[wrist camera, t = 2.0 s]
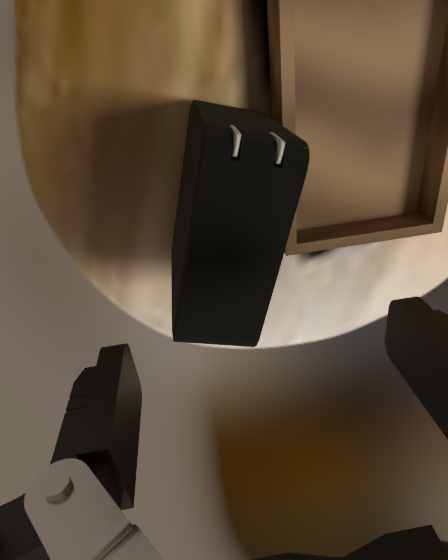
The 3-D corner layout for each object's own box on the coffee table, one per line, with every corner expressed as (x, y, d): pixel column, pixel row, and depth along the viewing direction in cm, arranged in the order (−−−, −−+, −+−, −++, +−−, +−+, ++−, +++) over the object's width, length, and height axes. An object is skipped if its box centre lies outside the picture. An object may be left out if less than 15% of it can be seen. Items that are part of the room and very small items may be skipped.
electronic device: (170, 254, 27) (171, 349, 18) (191, 97, 22) (204, 128, 13) (229, 260, 28) (256, 355, 19) (261, 111, 23) (316, 147, 14)
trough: (264, -70, 19) (277, -86, 16) (471, -93, 19) (510, -112, 17) (276, 238, 27) (286, 255, 25) (419, 217, 28) (441, 231, 25)
